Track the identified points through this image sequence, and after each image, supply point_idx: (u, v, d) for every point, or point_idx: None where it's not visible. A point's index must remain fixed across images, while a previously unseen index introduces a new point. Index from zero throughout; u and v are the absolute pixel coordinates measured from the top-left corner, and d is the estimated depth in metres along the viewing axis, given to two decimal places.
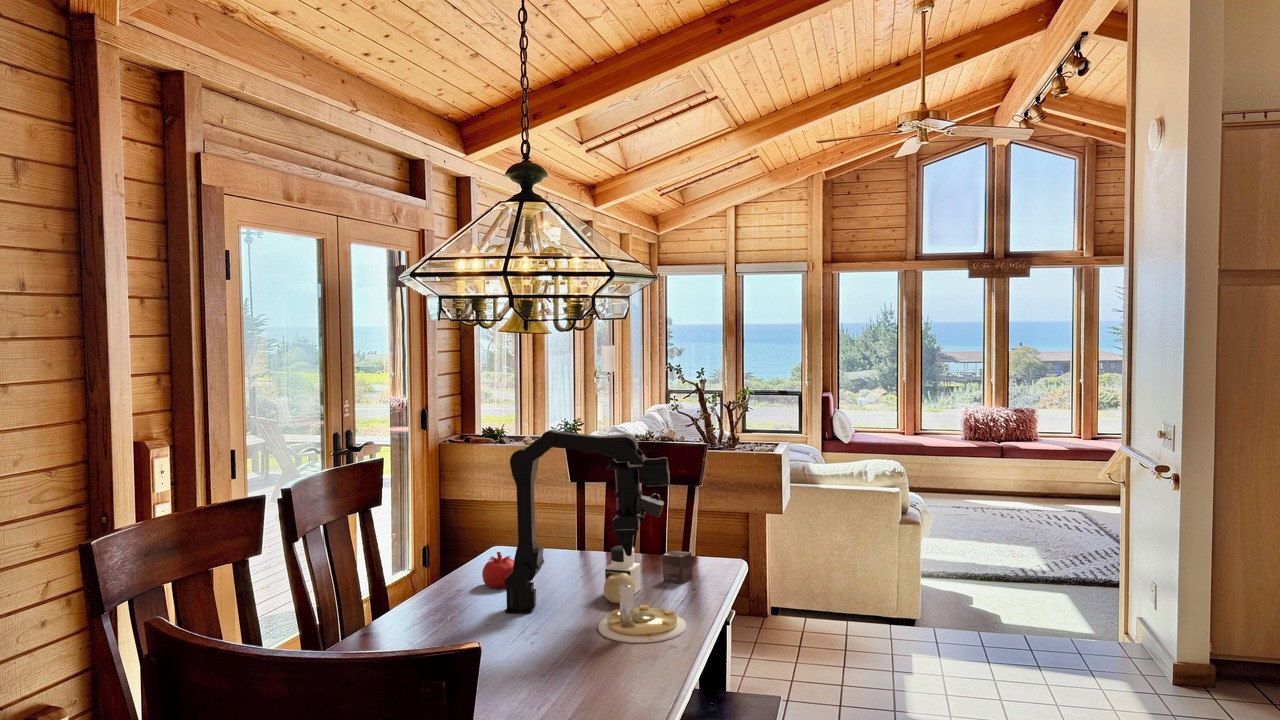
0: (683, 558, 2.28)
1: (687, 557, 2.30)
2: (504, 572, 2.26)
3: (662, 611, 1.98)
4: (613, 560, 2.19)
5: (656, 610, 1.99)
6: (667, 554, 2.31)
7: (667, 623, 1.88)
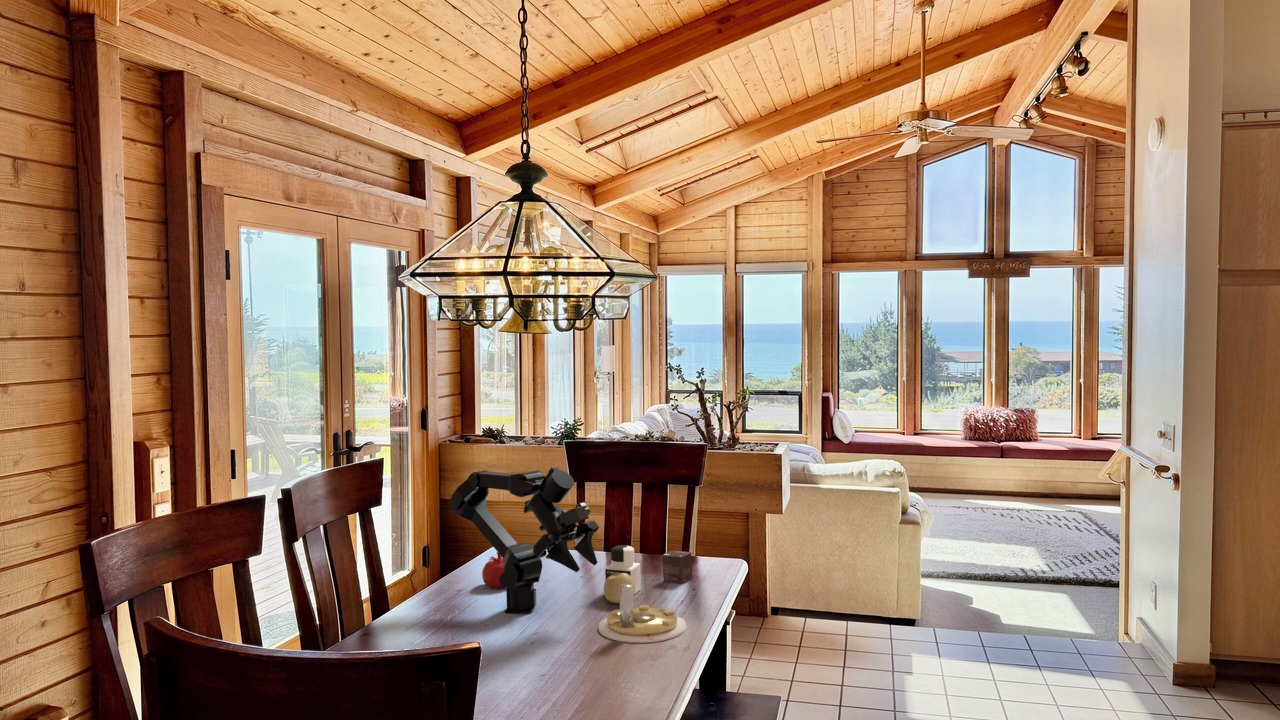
0: (683, 558, 2.28)
1: (687, 557, 2.30)
2: None
3: (662, 611, 1.98)
4: (613, 560, 2.19)
5: (656, 610, 1.99)
6: (667, 554, 2.31)
7: (667, 623, 1.88)
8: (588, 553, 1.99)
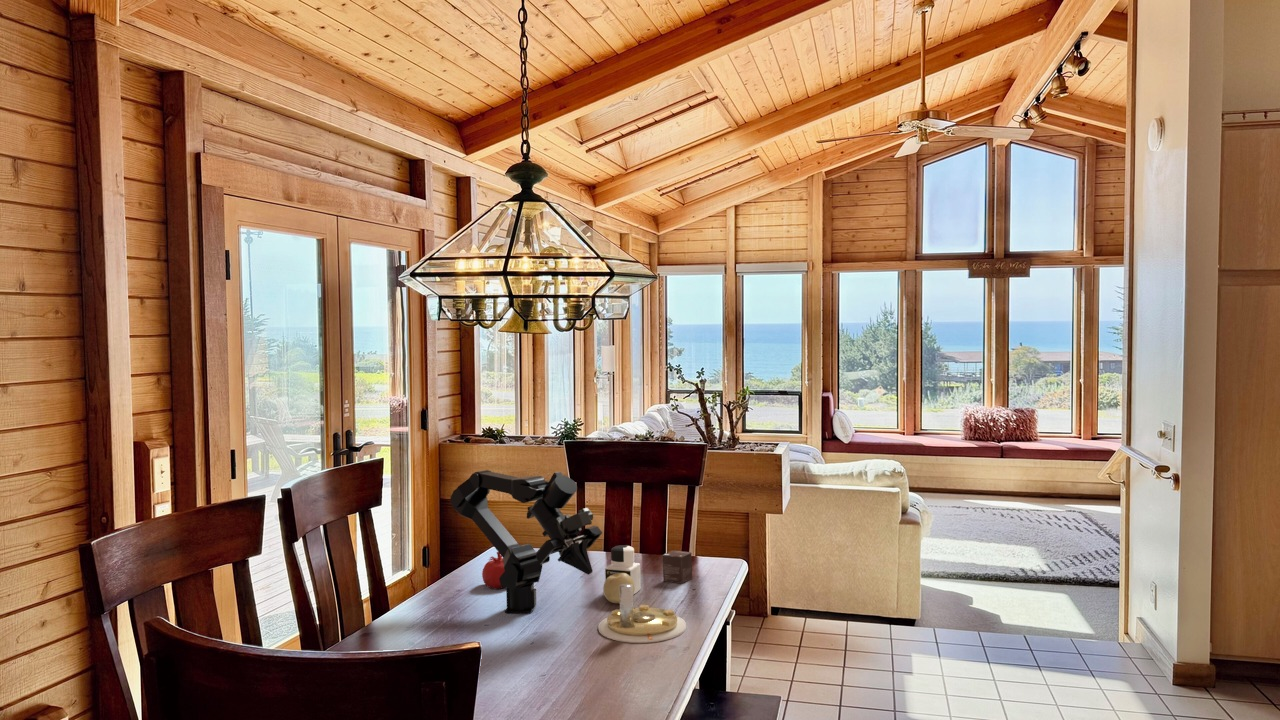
0: (683, 558, 2.28)
1: (687, 557, 2.30)
2: None
3: (662, 611, 1.98)
4: (613, 560, 2.19)
5: (656, 610, 1.99)
6: (667, 554, 2.31)
7: (667, 623, 1.88)
8: None
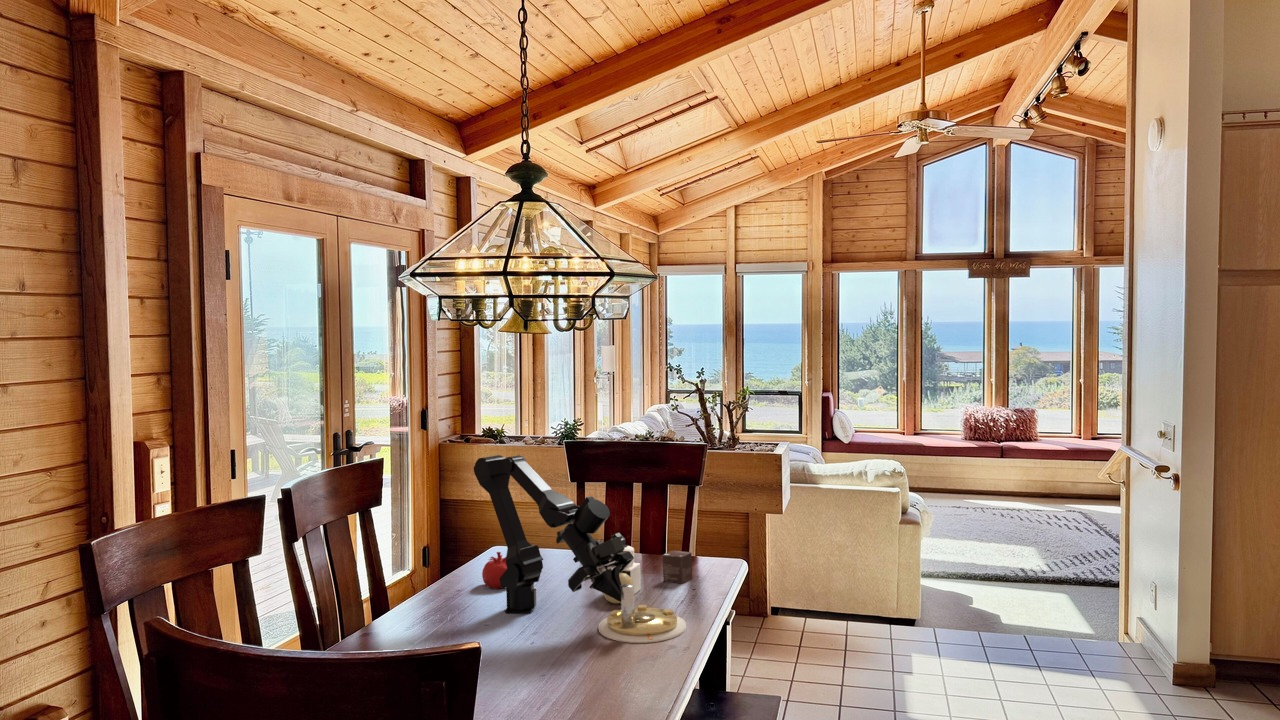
0: (683, 558, 2.28)
1: (687, 557, 2.30)
2: None
3: (660, 611, 1.98)
4: None
5: (654, 610, 1.99)
6: (667, 554, 2.31)
7: (668, 622, 1.89)
8: None
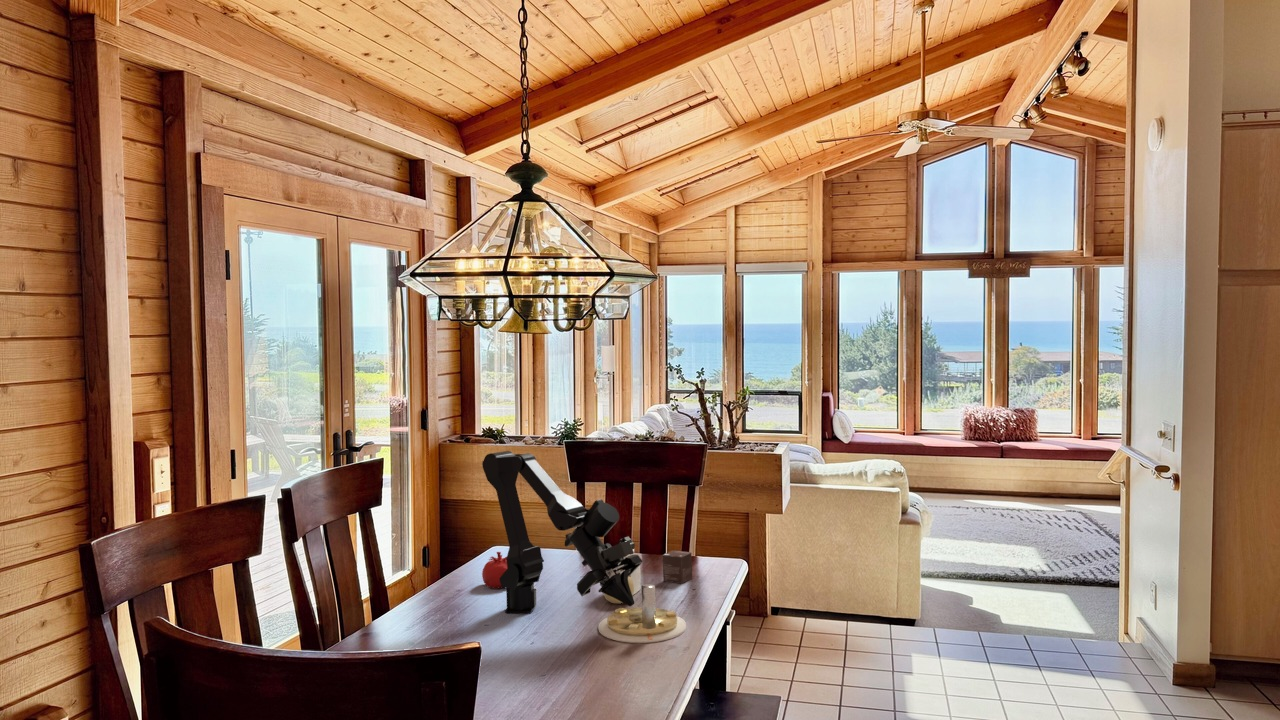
0: (683, 558, 2.28)
1: (687, 557, 2.30)
2: None
3: (640, 609, 2.00)
4: None
5: (633, 610, 1.99)
6: (667, 554, 2.31)
7: (674, 614, 1.94)
8: None
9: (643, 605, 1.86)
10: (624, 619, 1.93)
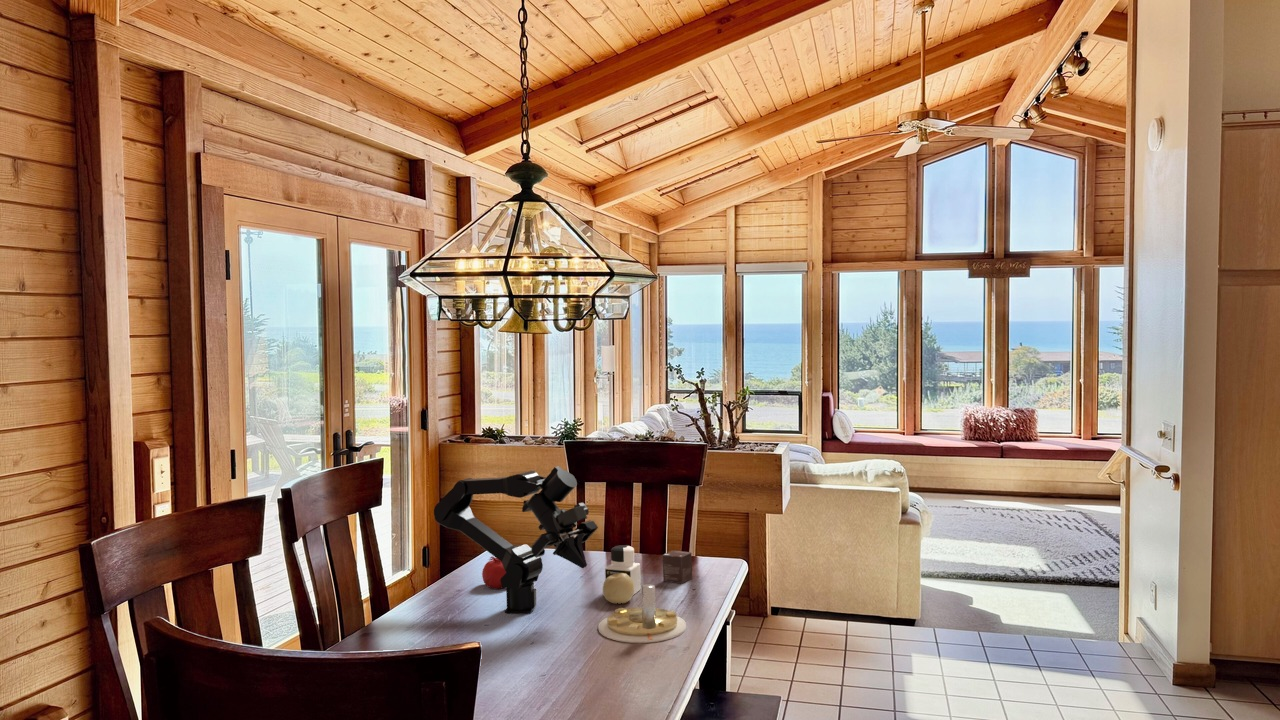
0: (683, 558, 2.28)
1: (687, 557, 2.30)
2: (504, 572, 2.26)
3: (640, 609, 2.00)
4: (613, 560, 2.19)
5: (633, 610, 1.99)
6: (667, 554, 2.31)
7: (674, 614, 1.94)
8: None
9: (643, 605, 1.86)
10: (624, 619, 1.93)
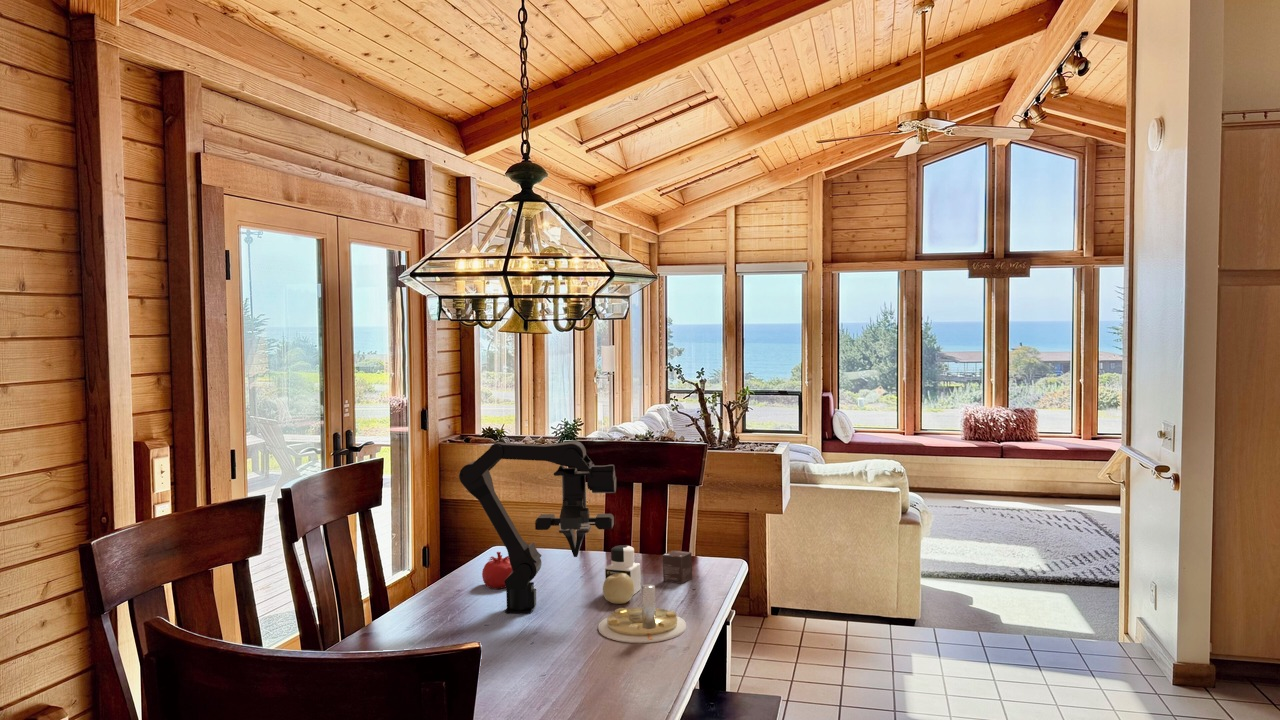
0: (683, 558, 2.28)
1: (687, 557, 2.30)
2: (504, 572, 2.26)
3: (640, 609, 2.00)
4: (613, 560, 2.19)
5: (633, 610, 1.99)
6: (667, 554, 2.31)
7: (674, 614, 1.94)
8: None
9: (643, 605, 1.86)
10: (624, 619, 1.93)
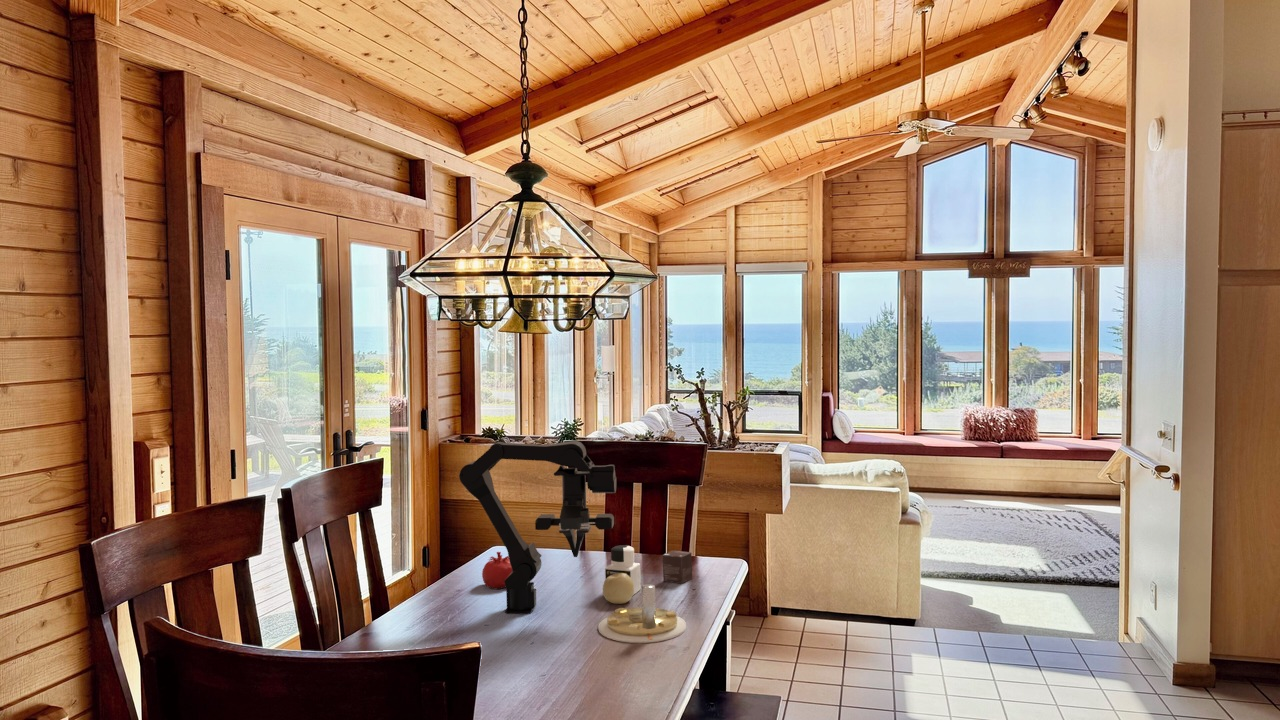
0: (683, 558, 2.28)
1: (687, 557, 2.30)
2: (504, 572, 2.26)
3: (640, 609, 2.00)
4: (613, 560, 2.19)
5: (633, 610, 1.99)
6: (667, 554, 2.31)
7: (674, 614, 1.94)
8: None
9: (643, 605, 1.86)
10: (624, 619, 1.93)
